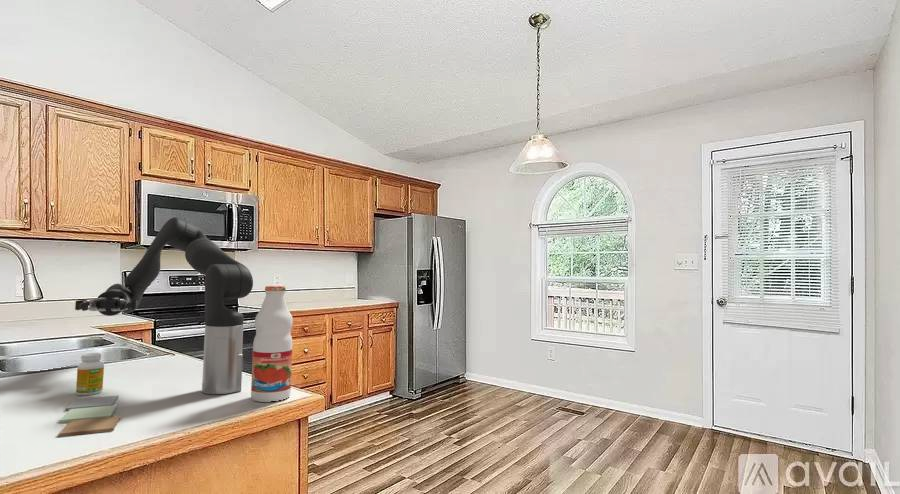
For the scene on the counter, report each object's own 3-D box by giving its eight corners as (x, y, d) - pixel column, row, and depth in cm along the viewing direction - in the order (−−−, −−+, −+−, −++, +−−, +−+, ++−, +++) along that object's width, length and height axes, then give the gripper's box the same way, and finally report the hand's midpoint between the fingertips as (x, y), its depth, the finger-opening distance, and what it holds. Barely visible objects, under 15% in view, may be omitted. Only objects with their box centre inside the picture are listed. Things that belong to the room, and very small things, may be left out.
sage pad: (116, 407, 109) (116, 405, 109) (109, 418, 102) (109, 415, 102) (70, 411, 106) (70, 409, 106) (59, 423, 98) (59, 420, 98)
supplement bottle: (88, 396, 118) (90, 356, 118) (70, 395, 119) (72, 355, 120) (107, 391, 123) (110, 353, 124) (90, 389, 124) (92, 351, 125)
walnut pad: (120, 418, 102) (120, 415, 102) (113, 431, 94) (113, 427, 94) (70, 423, 98) (70, 420, 98) (58, 436, 90) (58, 433, 90)
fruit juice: (288, 391, 127) (293, 285, 128) (292, 401, 118) (296, 287, 120) (250, 394, 123) (255, 285, 124) (250, 404, 114) (256, 286, 116)
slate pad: (118, 397, 117) (118, 395, 117) (112, 407, 110) (112, 404, 110) (75, 401, 114) (75, 398, 114) (65, 411, 106) (66, 408, 106)
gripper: (85, 289, 144) (71, 292, 129) (141, 290, 150) (134, 293, 135) (83, 314, 143) (69, 321, 129) (140, 314, 150) (132, 319, 135)
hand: (102, 306), depth 132 cm, fingers open, 8 cm apart
